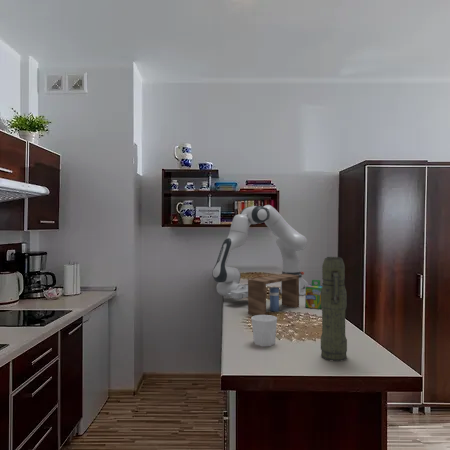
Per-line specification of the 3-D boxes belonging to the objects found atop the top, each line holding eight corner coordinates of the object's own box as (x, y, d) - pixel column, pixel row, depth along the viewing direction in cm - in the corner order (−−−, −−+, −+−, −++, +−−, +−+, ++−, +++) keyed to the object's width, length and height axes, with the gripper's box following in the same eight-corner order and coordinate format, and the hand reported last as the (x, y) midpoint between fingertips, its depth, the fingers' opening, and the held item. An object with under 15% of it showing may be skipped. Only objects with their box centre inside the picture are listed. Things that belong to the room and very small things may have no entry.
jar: (273, 308, 210) (273, 286, 210) (280, 310, 207) (280, 287, 207) (267, 310, 207) (267, 287, 207) (275, 311, 203) (274, 288, 203)
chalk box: (305, 307, 212) (304, 280, 212) (309, 304, 220) (309, 278, 220) (322, 309, 208) (321, 281, 208) (326, 306, 216) (326, 279, 216)
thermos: (341, 350, 143) (341, 255, 143) (351, 362, 131) (351, 259, 131) (317, 350, 143) (316, 255, 143) (325, 362, 131) (324, 259, 131)
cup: (260, 337, 160) (260, 313, 160) (282, 342, 153) (281, 317, 153) (246, 343, 152) (246, 318, 152) (268, 349, 146) (267, 322, 146)
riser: (284, 304, 221) (284, 273, 221) (299, 307, 214) (298, 275, 213) (248, 313, 200) (247, 279, 200) (262, 317, 193) (262, 281, 193)
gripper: (225, 288, 219) (243, 291, 209) (250, 283, 233) (268, 286, 223) (225, 299, 219) (243, 303, 209) (250, 294, 233) (268, 297, 223)
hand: (256, 294), depth 216 cm, fingers open, 8 cm apart
